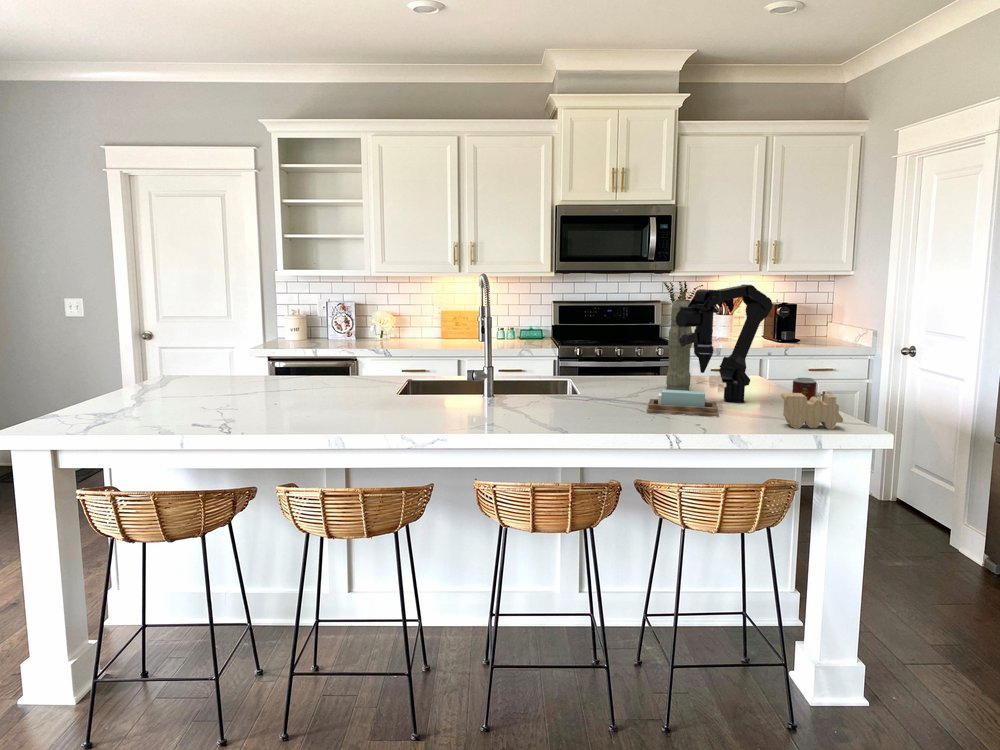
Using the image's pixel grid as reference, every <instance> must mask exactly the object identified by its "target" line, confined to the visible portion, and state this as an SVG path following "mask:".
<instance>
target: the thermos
mask: <svg viewBox="0 0 1000 750" xmlns="http://www.w3.org/2000/svg"><path fill="white" fill-rule="evenodd" d="M690 302H691V300H690V301H689V299H675V300H674V301H673V302H672V305H671V308H670V309H671V310H670V311H671V312H670V321H671V324H670V328H669V330H668V342H667V345H668V349H669V350H668V351H669V352H668V371H667V373H666V390H683V391H690V385H691V372H690V369H691V367H690V366H691V365H690V364H691V363H690V362H691V349H692V345H693V343H691V344H688V345H685V346H684V347H681V346H680V343H679V340H678V338H679V337H681V336H682V335H684V334H691V333H693V330H692V327H679V326H678V325H677V323H676V316H677V313H678V312H679V311H680V307H688V305H689V303H690Z"/></svg>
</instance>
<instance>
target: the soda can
mask: <svg viewBox="0 0 1000 750" xmlns="http://www.w3.org/2000/svg"><path fill="white" fill-rule="evenodd" d="M817 384H818V383H817V380H815V379H814V378H811V377H796V378H795V379H793V380H792V389H791V390H792V392H791V393H802V394H803V395H804V396H806V397H807V401H809V400H810V398H811V397H816V396H817ZM816 398H817V397H816Z"/></svg>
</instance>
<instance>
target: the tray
mask: <svg viewBox="0 0 1000 750" xmlns="http://www.w3.org/2000/svg"><path fill="white" fill-rule="evenodd" d="M646 406H647V408H646V411H645V412H652V413H651V414H658V413H671V414H670V415H676V414H685V415H684V416H693V415H699V416H698V417H711V416H719V417H720V411H719V408H718V407H719V406H718V403H717V401H716V402H715V401H705V407H694V406H675V405H658V398H650V399H649V401H648V404H647V405H646Z"/></svg>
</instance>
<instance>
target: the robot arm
mask: <svg viewBox="0 0 1000 750" xmlns="http://www.w3.org/2000/svg"><path fill="white" fill-rule="evenodd" d="M738 298H741V299H742V302H743V303H744V304H745V315H746V319H745V321H744V323H743V326H742V329H741V331H740V333H739V336H738V338H737V340H736V343H735V345H734V348H733V350H732V353H731V354H730V355H729V356H724V357H723V358H722V360H721V363H720V364H719V374H720V378H721V383H725V386H724V387H723V400H724V402H726V403H727V402H728V403H743V404H744V403H745V390H746V386H750V383H751V378H749V376H748V375H747V373H746V371H747V363H746V362H747V361H746V359H747V356H748V354H749V351H750V348H751V347H752V344H753V342H754V338H755V336H756V334H757V332H758V329H759V327H760V324H761V323H762V322H763V321H764V320H765V319H767V317H769V314H770V313H771V311H772V309H773V306H774V305H773V300H772V299H771V298H770V297H769V296H768V295H766V294H765V293H763V292H762V291H761V290H758V289H757V288H756V287H755V286H754V285H752V284H740V285H736V286H731V287H726V288H720V289H705V288H704V289H703V288H702V289H701V288H699V289H697V290H696V291H695V293H694V296H692V298H691V300H690V303H689V305H688V307H680V311H679V312H678V313H677V316H676V323H677V325H678V326H679V327H691V328H692V327H693V328H694V327H695V328H694V331H693V332H692V333H691V334H684V335H682V336H681V337H679V338H678V340H679V343H680V346H681V347H684V346H685V345H688V344H691V343H692V344H693V353H694V354H693V355H695V356H696V357H697V358H698V363H699V369H700V374H704V373H705V371H706V369H707V367H708V365H709V363H710V361H711V359H712V357H713V354H714V346H713V333H714V329H713V328H714V314H718V313H719V312H720V311H719V310H718V309H717V308H716V306H718V305H719V304H721V302H724V301H729V300H733V299H738Z"/></svg>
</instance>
